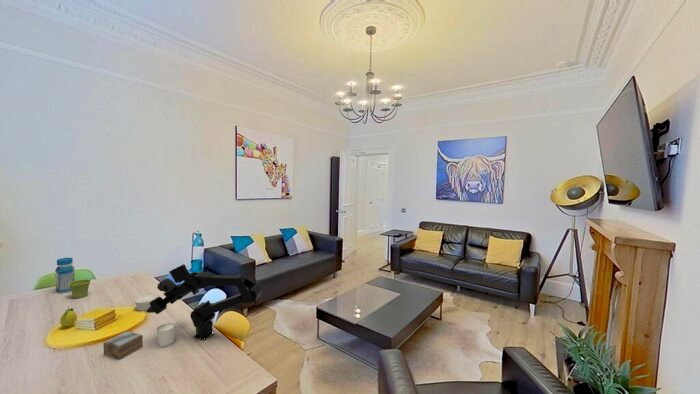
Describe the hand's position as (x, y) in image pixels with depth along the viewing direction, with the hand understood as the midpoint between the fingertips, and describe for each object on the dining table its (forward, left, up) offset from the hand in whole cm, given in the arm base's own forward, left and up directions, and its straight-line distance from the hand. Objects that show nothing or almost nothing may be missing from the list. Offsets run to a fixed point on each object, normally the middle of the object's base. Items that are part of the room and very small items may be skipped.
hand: (154, 306), depth 126 cm
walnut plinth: (-1, +14, -12) cm, 19 cm away
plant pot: (+75, -13, -13) cm, 78 cm away
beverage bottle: (+92, -15, -13) cm, 94 cm away
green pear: (+41, +10, -13) cm, 44 cm away
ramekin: (+27, -17, -13) cm, 35 cm away
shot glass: (-12, +4, -13) cm, 18 cm away
